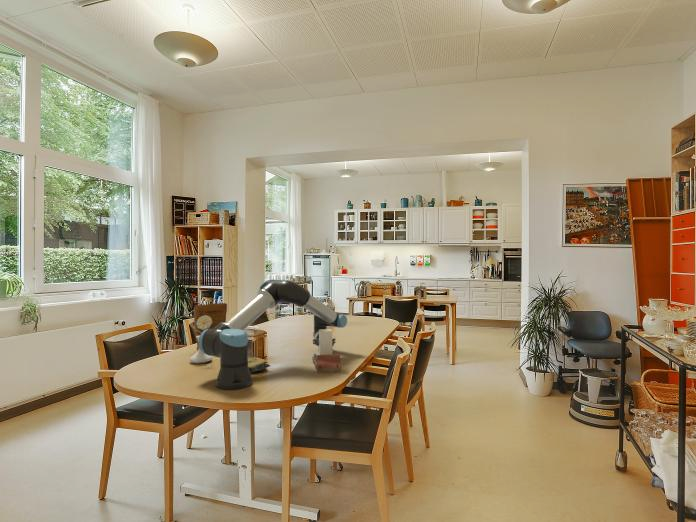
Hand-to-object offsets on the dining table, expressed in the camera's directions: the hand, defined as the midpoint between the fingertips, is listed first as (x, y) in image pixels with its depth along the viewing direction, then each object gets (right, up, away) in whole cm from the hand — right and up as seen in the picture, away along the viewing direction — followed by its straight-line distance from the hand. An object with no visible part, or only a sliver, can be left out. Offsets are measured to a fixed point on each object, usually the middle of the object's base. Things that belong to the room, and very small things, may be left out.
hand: (328, 347), depth 209 cm
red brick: (-1, -9, -3) cm, 9 cm away
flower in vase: (-67, -9, +7) cm, 68 cm away
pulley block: (-40, -10, -4) cm, 42 cm away
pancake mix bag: (-72, -9, +36) cm, 81 cm away
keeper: (-1, -7, -4) cm, 7 cm away
